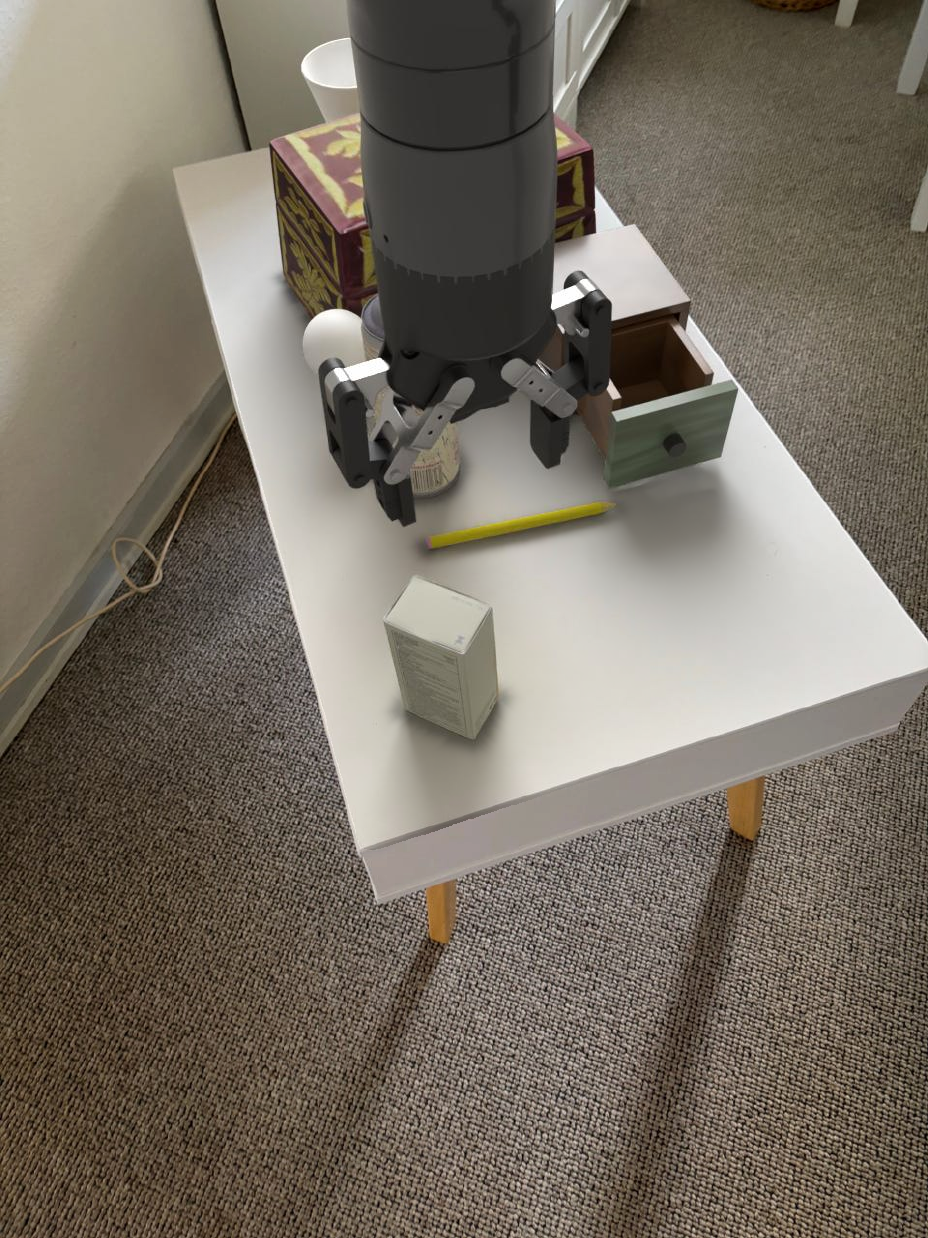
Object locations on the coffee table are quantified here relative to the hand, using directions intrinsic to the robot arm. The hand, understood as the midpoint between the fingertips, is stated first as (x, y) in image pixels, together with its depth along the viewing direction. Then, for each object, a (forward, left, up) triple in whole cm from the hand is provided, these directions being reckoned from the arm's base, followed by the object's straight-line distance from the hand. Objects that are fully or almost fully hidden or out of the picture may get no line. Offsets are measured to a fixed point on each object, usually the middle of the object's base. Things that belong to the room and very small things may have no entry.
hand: (475, 485), depth 52 cm
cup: (+34, -61, -25) cm, 75 cm away
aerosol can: (+13, -21, -25) cm, 36 cm away
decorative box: (+20, -47, -25) cm, 57 cm away
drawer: (-5, -30, -24) cm, 39 cm away
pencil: (+2, -18, -25) cm, 31 cm away
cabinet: (+2, -39, -25) cm, 47 cm away
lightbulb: (+22, -26, -25) cm, 42 cm away
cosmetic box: (+3, 0, -25) cm, 25 cm away
